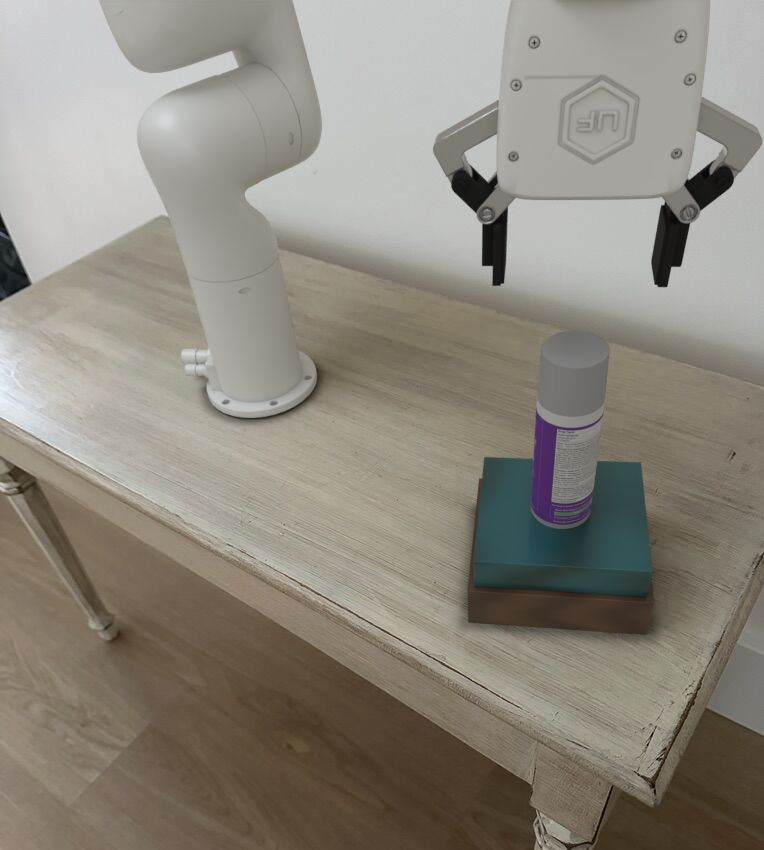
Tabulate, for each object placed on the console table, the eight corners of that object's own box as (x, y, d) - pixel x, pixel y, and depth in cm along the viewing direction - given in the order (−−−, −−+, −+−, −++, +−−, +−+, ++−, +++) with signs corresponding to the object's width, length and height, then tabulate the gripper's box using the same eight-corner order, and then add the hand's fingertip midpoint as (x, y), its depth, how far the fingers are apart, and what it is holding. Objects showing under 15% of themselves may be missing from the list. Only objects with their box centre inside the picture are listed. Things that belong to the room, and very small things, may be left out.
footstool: (468, 622, 65) (466, 566, 60) (479, 509, 73) (478, 452, 69) (646, 634, 62) (660, 577, 57) (635, 516, 71) (647, 458, 66)
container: (525, 491, 65) (532, 333, 54) (582, 484, 65) (600, 324, 54) (537, 533, 61) (548, 373, 51) (597, 525, 61) (621, 363, 51)
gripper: (418, -29, 36) (431, 306, 48) (833, -53, 33) (734, 310, 45) (436, -66, 41) (444, 246, 53) (796, -89, 38) (717, 246, 50)
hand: (577, 275), depth 49 cm, fingers open, 9 cm apart
